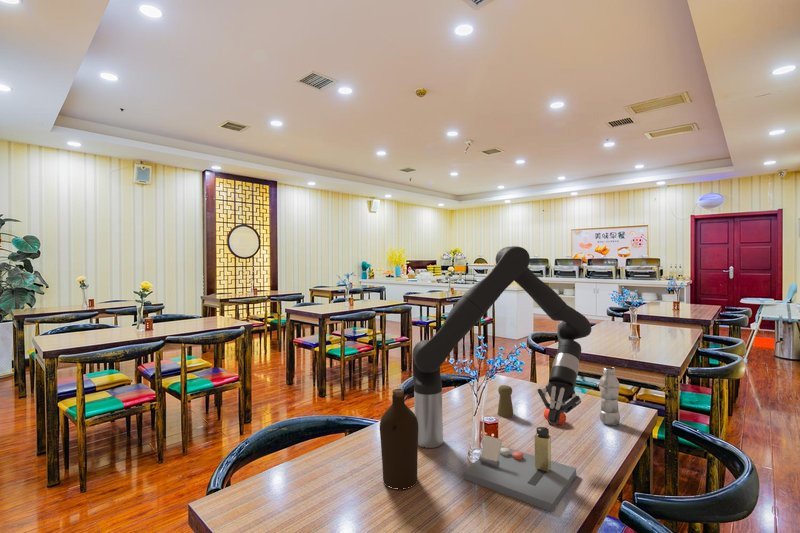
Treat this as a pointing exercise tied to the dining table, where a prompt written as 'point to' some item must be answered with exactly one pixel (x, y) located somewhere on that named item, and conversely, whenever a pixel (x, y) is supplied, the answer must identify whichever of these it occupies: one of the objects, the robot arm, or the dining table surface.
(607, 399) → the plastic bottle
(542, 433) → the slide lever
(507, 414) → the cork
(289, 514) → the dining table surface
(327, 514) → the dining table surface
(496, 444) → the cream rectangular block
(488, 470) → the control board
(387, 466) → the olive oil
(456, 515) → the dining table surface
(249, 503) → the dining table surface
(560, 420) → the pumpkin
